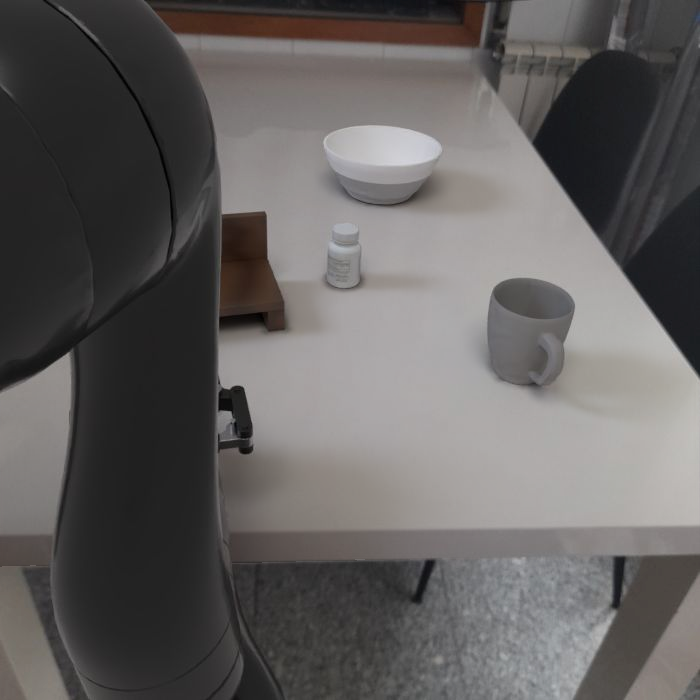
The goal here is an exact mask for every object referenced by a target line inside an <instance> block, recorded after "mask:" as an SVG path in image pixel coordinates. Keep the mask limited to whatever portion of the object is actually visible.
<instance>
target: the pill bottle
mask: <svg viewBox="0 0 700 700" xmlns="http://www.w3.org/2000/svg"><path fill="white" fill-rule="evenodd" d="M359 239H360V228H359V227H358V225H356V224H354V223H350V222H340V223H335V225H333V226H332V230H331V240H330V241H329V242H328V245H327V262H326V280H327V282H328V284H329V285H330V286H332V287H335V288H338V289H351V288H354V287H356V286H357V285H358V284H359V283H360V280H361V266H362V264H361V263H362V244H361V243H360V241H359Z"/></svg>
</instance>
